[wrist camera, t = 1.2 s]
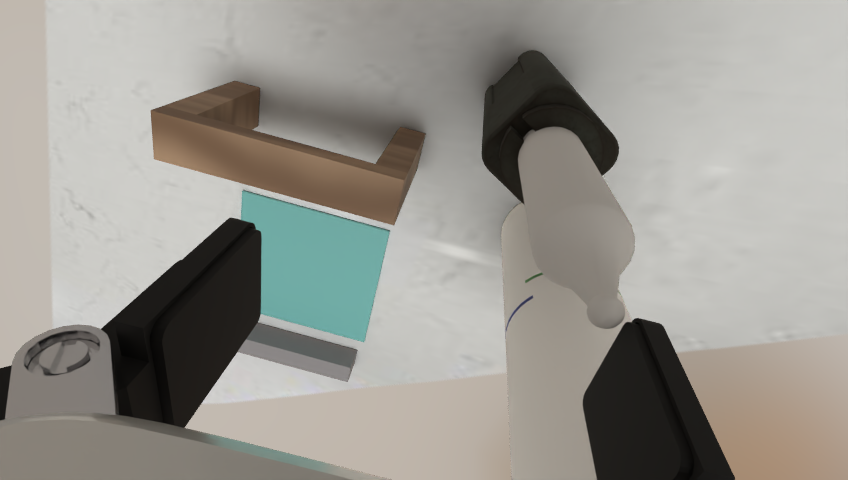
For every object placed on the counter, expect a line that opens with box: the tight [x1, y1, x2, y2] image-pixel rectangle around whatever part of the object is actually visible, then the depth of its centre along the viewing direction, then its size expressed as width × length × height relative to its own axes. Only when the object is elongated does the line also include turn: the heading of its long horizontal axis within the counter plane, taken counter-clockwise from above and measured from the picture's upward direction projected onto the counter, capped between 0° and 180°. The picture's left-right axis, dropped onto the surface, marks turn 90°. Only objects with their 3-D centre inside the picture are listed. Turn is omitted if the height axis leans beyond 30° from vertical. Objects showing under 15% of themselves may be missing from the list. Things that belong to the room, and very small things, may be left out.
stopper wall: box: [238, 323, 357, 382], centre depth 45 cm, size 2×12×2 cm, turn 76°
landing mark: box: [241, 190, 390, 342], centre depth 42 cm, size 13×13×1 cm
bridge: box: [151, 81, 426, 225], centre depth 31 cm, size 3×15×10 cm, turn 77°
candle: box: [482, 51, 635, 329], centre depth 21 cm, size 5×5×25 cm
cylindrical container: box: [501, 202, 632, 480], centre depth 26 cm, size 7×7×25 cm
